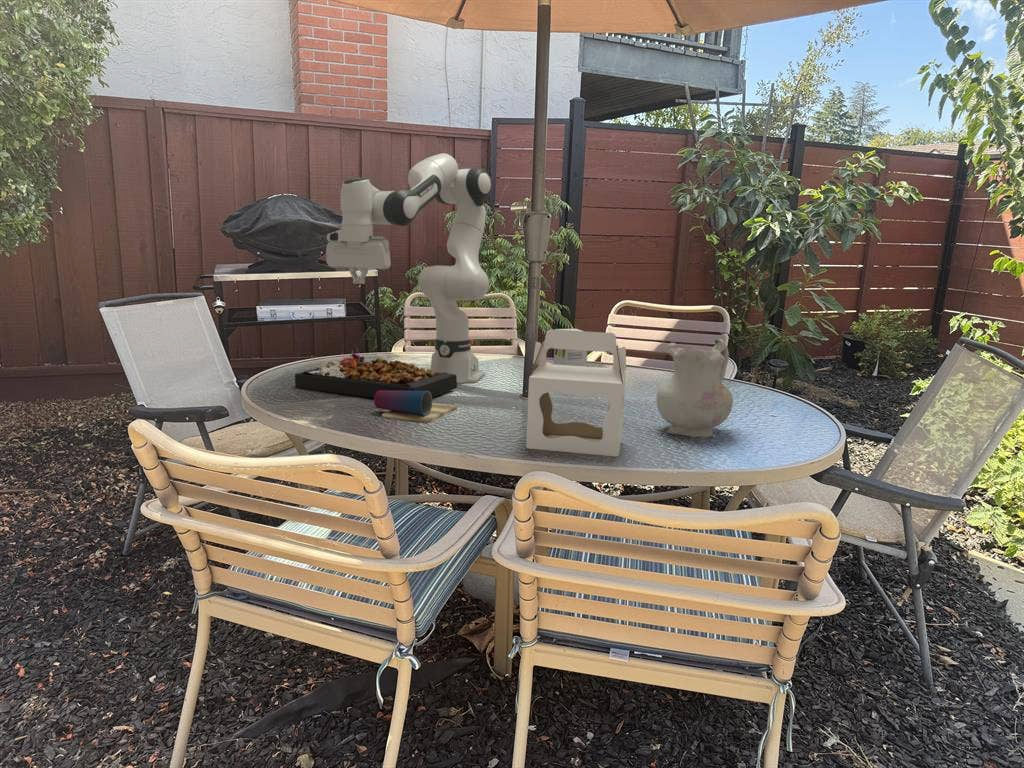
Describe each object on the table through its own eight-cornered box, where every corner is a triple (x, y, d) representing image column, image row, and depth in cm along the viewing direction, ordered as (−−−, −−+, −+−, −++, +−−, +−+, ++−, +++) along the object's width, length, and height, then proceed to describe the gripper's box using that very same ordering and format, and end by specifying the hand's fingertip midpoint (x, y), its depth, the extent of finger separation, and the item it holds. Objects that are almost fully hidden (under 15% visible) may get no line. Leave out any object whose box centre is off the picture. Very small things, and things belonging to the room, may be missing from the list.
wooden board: (414, 403, 206) (414, 400, 206) (457, 408, 201) (457, 406, 201) (382, 416, 190) (382, 413, 190) (427, 423, 185) (427, 420, 185)
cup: (386, 406, 198) (433, 411, 193) (373, 414, 192) (421, 419, 187) (383, 384, 196) (431, 387, 191) (371, 391, 190) (419, 395, 185)
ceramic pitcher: (680, 421, 200) (680, 335, 196) (747, 429, 187) (749, 337, 183) (643, 436, 183) (643, 342, 179) (714, 446, 171) (715, 345, 167)
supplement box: (552, 373, 259) (554, 328, 256) (573, 372, 263) (576, 328, 259) (564, 378, 251) (567, 332, 247) (586, 377, 254) (589, 331, 251)
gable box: (622, 441, 174) (629, 330, 168) (619, 457, 161) (627, 337, 155) (534, 434, 178) (539, 325, 172) (525, 448, 165) (529, 331, 160)
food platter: (295, 387, 222) (293, 355, 220) (344, 375, 243) (343, 346, 241) (414, 403, 203) (414, 368, 201) (456, 388, 225) (456, 356, 223)
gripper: (394, 236, 201) (395, 284, 204) (335, 234, 208) (337, 281, 211) (382, 236, 195) (383, 286, 198) (322, 235, 202) (324, 282, 205)
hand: (359, 283), depth 205 cm, fingers closed
